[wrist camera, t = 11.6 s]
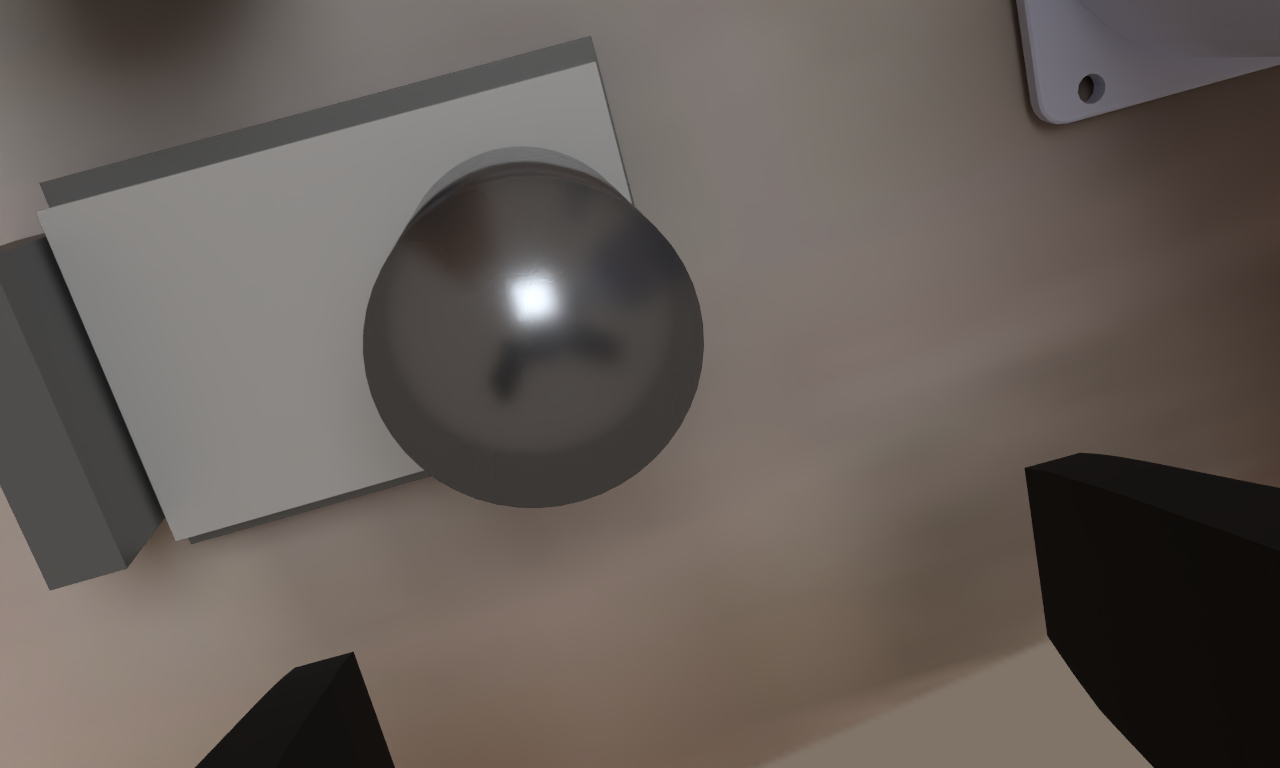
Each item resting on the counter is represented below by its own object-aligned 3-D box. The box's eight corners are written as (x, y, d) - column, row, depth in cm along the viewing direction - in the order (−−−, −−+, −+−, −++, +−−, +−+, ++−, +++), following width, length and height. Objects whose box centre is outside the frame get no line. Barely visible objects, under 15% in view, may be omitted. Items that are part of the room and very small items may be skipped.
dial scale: (586, 37, 19) (606, 29, 15) (676, 387, 21) (711, 450, 17) (-26, 201, 18) (-145, 230, 15) (125, 544, 20) (51, 641, 17)
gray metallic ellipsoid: (610, 117, 18) (658, 137, 12) (669, 349, 19) (736, 455, 14) (368, 183, 17) (313, 231, 12) (444, 412, 19) (424, 546, 13)
